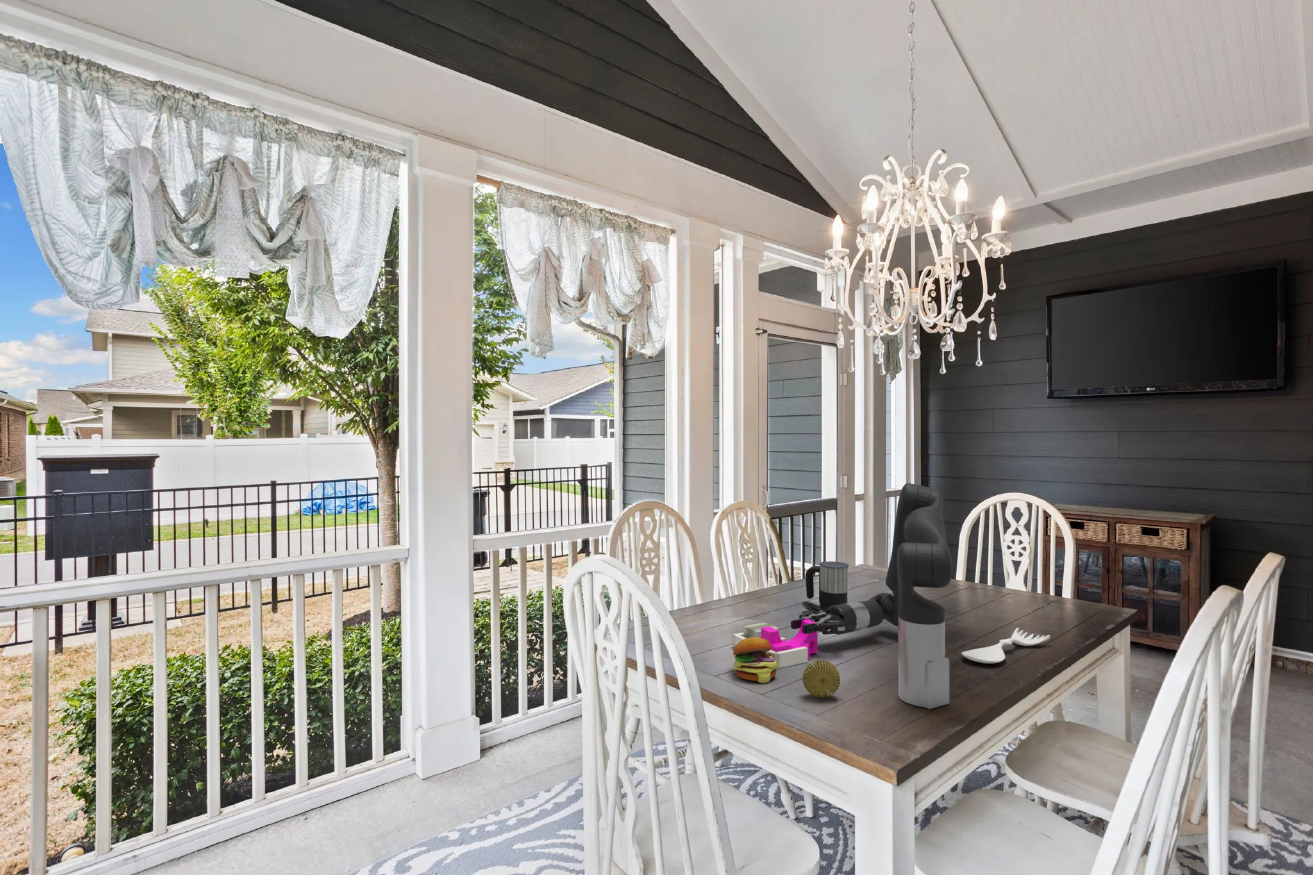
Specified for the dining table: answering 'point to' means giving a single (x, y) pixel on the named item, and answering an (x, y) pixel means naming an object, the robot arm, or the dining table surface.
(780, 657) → the lane rack
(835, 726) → the dining table surface
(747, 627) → the sage block
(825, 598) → the milk frother
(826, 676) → the sculpture
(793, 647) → the toy block
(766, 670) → the cheeseburger
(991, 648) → the white long tined part
